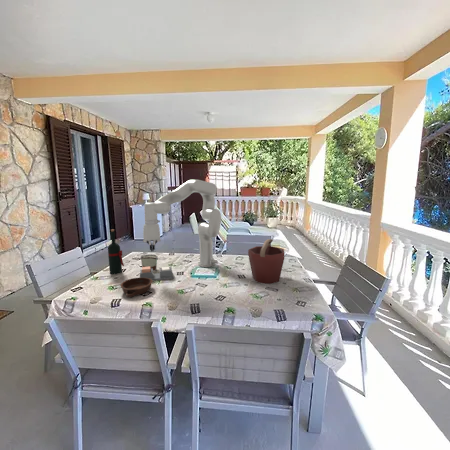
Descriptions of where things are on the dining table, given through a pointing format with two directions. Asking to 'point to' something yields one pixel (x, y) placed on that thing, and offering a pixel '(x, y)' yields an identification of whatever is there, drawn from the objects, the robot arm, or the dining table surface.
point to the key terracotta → (146, 269)
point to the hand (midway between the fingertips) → (152, 250)
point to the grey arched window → (149, 261)
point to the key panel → (157, 274)
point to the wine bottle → (114, 256)
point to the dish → (136, 286)
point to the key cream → (165, 268)
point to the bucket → (266, 262)
